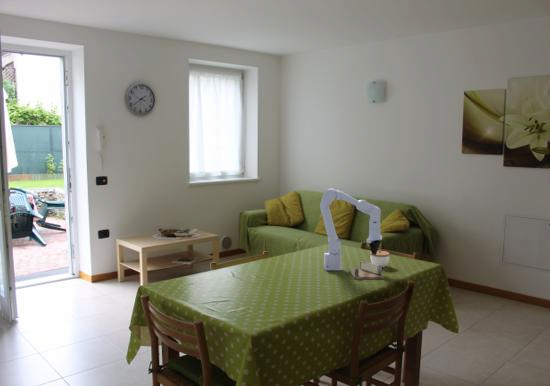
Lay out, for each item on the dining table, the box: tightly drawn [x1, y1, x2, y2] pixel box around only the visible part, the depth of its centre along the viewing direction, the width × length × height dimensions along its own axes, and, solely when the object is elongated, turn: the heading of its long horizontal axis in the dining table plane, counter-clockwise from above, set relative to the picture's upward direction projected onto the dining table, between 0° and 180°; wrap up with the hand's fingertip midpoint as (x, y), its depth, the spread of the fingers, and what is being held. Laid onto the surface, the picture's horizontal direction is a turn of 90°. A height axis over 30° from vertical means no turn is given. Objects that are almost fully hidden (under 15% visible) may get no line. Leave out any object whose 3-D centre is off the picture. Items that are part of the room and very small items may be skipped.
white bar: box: [359, 260, 383, 275], centre depth 258 cm, size 14×2×4 cm, turn 36°
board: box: [348, 267, 384, 280], centre depth 256 cm, size 15×15×5 cm
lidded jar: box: [369, 249, 390, 268], centre depth 274 cm, size 11×11×9 cm
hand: (374, 254), depth 262 cm, fingers closed
